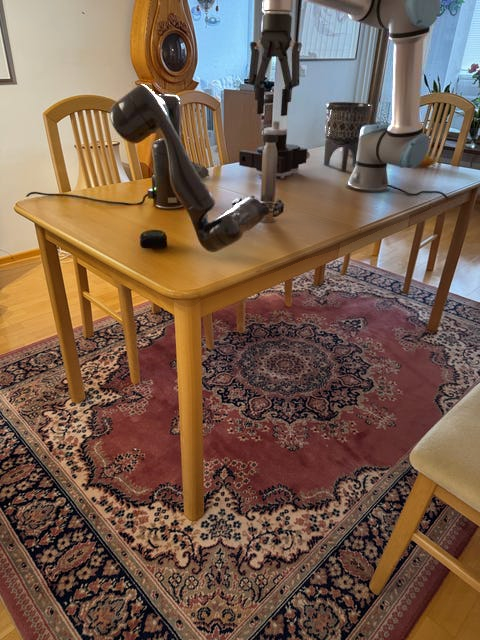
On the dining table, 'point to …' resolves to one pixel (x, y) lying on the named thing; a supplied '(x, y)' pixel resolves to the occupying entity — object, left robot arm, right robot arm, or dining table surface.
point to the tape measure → (153, 239)
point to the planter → (345, 128)
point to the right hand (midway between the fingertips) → (272, 114)
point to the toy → (426, 162)
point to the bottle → (269, 177)
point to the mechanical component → (286, 154)
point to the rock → (201, 170)
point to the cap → (270, 137)
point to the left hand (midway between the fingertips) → (266, 200)
